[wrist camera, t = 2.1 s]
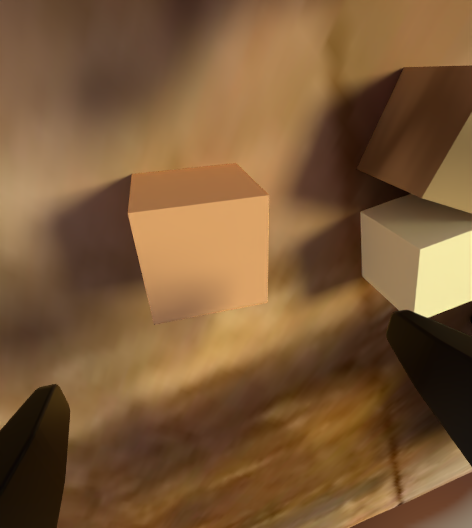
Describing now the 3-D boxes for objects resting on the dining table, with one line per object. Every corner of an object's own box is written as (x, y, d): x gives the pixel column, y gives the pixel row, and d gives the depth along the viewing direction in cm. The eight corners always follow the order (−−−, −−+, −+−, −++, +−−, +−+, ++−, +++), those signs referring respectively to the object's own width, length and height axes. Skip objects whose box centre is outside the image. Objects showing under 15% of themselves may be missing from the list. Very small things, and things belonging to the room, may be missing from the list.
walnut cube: (420, 189, 19) (496, 221, 15) (355, 168, 17) (421, 198, 13) (470, 101, 17) (575, 109, 13) (402, 67, 15) (499, 64, 11)
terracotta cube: (239, 250, 18) (267, 302, 14) (151, 264, 17) (154, 324, 13) (235, 162, 16) (269, 194, 12) (131, 173, 15) (127, 213, 11)
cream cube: (426, 251, 22) (492, 292, 18) (361, 275, 22) (413, 323, 18) (434, 184, 19) (513, 214, 15) (359, 210, 19) (420, 249, 15)
